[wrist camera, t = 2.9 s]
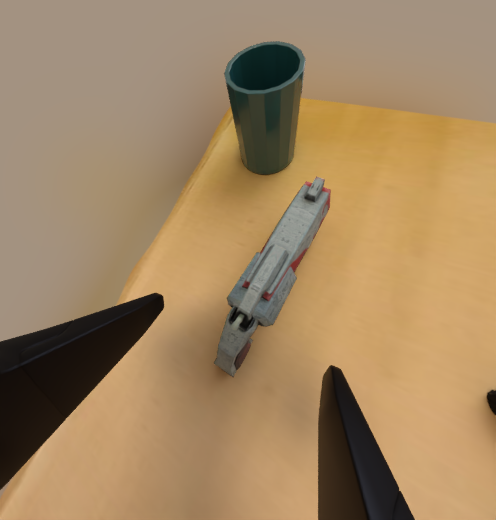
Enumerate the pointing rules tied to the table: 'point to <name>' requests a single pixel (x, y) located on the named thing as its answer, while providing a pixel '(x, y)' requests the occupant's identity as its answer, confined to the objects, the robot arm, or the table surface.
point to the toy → (492, 400)
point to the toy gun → (271, 274)
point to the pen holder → (266, 103)
